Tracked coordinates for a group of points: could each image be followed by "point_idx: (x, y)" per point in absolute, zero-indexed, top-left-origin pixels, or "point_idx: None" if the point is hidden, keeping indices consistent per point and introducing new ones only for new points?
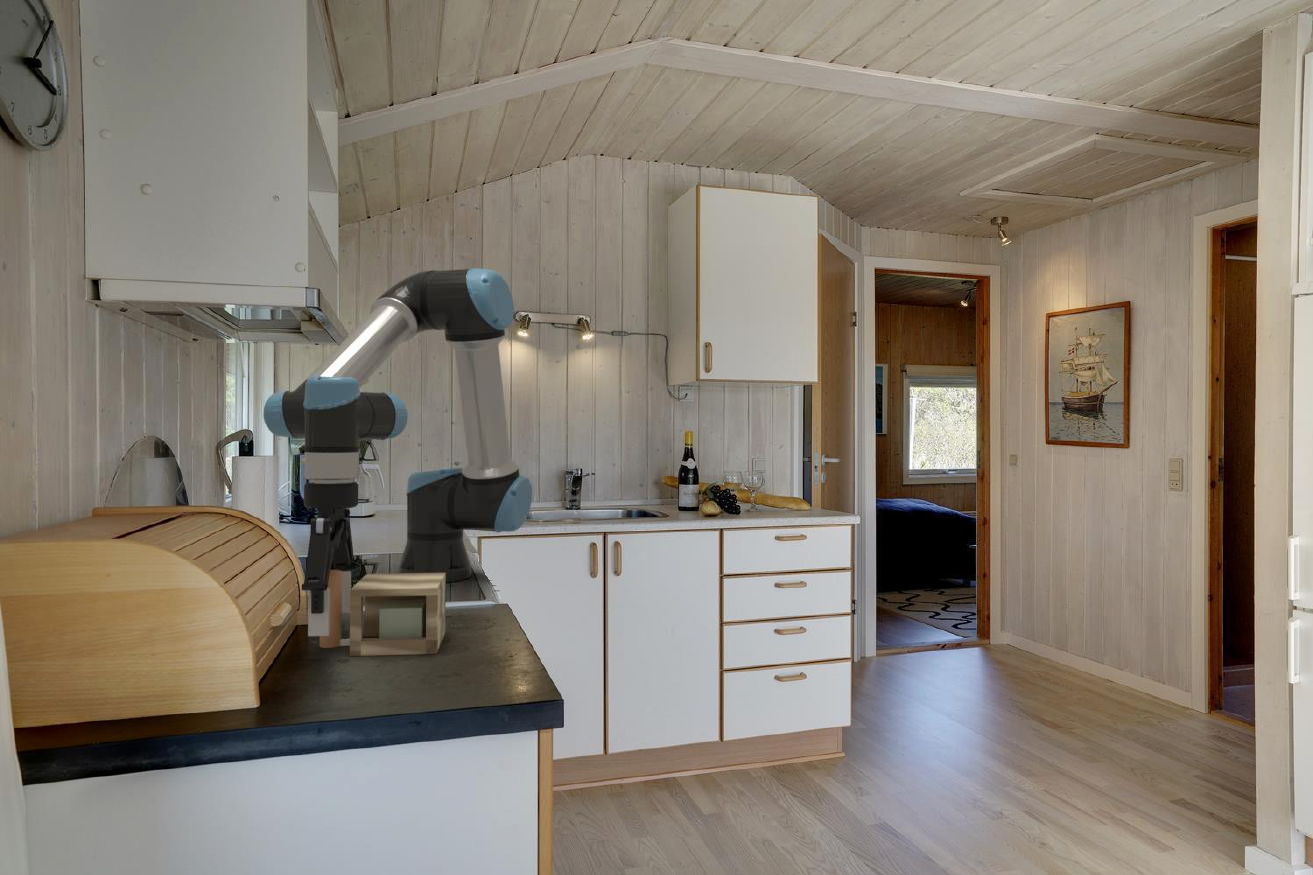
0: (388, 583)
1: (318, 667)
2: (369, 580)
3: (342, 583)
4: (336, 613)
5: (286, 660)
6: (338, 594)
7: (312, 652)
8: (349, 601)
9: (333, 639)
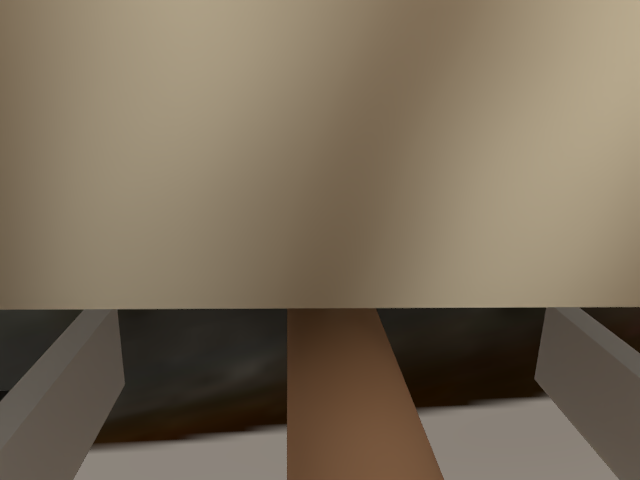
0: (542, 8)
1: None
2: (349, 225)
3: (47, 443)
4: (384, 337)
5: (484, 396)
6: (393, 390)
7: (398, 340)
8: (93, 333)
9: None
